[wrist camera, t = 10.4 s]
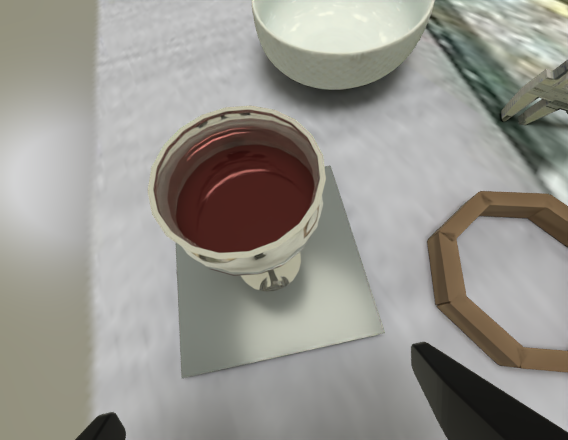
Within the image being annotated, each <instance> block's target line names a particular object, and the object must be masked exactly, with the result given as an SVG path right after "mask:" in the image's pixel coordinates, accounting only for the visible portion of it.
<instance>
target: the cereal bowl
mask: <svg viewBox="0 0 568 440" xmlns="http://www.w3.org/2000/svg"><path fill="white" fill-rule="evenodd" d="M434 1H435V0H252V11H253V16H254V22H255V27H256V31H257V34H258V38H259V40H260V43H261V45H262V47H263V50H264V52H265V53H266V56H267V57H268V58H269V60H270V61H271V62H272V63H273V64H274V66H275V67H277V68H278V69H279V70H280V71H281V72H283V73H284V74H285V75H286V76H288V77H289V78H291V79H292V80H295V81H296V82H299V83H301V84H303V85H307V86H311V87H315V88H320V89H330V90H332V89H334V90H336V89H339V90H341V89H350V88H354V87H359V86H362V85H366V84H369V83H371V82H374V81H376V80H378V79H381V78H382V77H383V76H385V75H387V74H389V73H390V72H391V71H393V70H394V69H396V68H397V67H398V66H399V65H400V64H401V63H402V62H403V61H404V60H405V59H406V58H407V57H408V56H409V55H410V54H411V52H412V50H413V49H414V48H415V47H416V45H417V43H418V41H419V40H420V38H421V35H422V34H423V32H424V30H425V27H426V25H427V23H428V21H429V17H430V15H431V13H432V9H433V6H434Z"/></svg>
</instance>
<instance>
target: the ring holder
mask: <svg viewBox="0 0 568 440" xmlns="http://www.w3.org/2000/svg"><path fill="white" fill-rule="evenodd" d="M478 216H493V217H514V218H528V219H529V220H531V221H532V222H533V223H535V224H536V225H538V226H539V227H540V228H542V229H543V230H544V231H546V232H547V233H549V234H550V235H551V236H553V237H554V238H556V239H557V240H558V241H560V242H561V243H562V244H564V245H565V246H567V247H568V206H567V205H565V204H564V203H562V202H561V201H559V200H558V199H556V198H555V197H553V196H552V195H549V194H540V193H516V192H491V191H480V192H478V193H477V194H476V195H474V196H473V197H472V198H471V199H470V200H468V201H467V202H466V203H465V204H464V205H463V206H462V207H461V208H460V209H459V210H458V211H457V212H456V213H455V214H454V215H452V216H451V217H450V218H449V219H448V220H447V221H446V222H445V223H444V224H443V225H442V226H441V227H440V228H439V229H438V230H437V231H436V232H435V233H434V234H433V235H432V236H431V237H430V238H429V239H428V241H427V243H428V251H429V259H430V266H431V274H432V281H433V289H434V296H435V304H436V305H437V307H438V308H439V309H440V310H441V311H442V312H443V313H444V314H445V315H446V316H447V317H448V318H449V319H450V320H451V321H452V322H453V323H455V324H456V325H457V326H458V327H459V328H460V329H461V330H462V331H463V332H464V333H465V334H466V335H467V336H468V337H469V338H470V339H471V340H472V341H474V342H475V343H476V344H477V345H478V346H479V347H480V348H481V349H482V350H483V351H484V352H485V353H486V354H487V355H488V356H489V357H490V358H491V359H493V360H494V361H495V362H496V363H497V364H498V365H500V366H508V367H516V368H525V369H536V370H547V371H558V372H568V351H562V350H550V349H538V348H526V347H523V346H522V345H521V344H519V343H518V342H517V341H516V340H515V339H514V338H513V337H512V336H510V335H509V334H508V333H507V332H506V331H505V330H504V329H503V328H502V327H500V326H499V325H498V324H497V323H496V322H495V321H494V320H493V319H491V318H490V317H489V316H488V315H487V314H486V313H485V312H484V311H482V310H481V309H480V308H479V307H478V306H477V305H476V304H475V303H474V302H472V301H471V300H470V299H469V298H468V297H467V296H466V291H465V285H464V280H463V274H462V268H461V263H460V257H459V251H458V246H457V240H456V238H457V237H458V236H459V235H460V234H461V233H462V232H463V231H464V230H465V229H466V228H467V227H468V226H469V225H470V224H471V223H472V222H473V221H474V220H475V219H476V218H477V217H478Z"/></svg>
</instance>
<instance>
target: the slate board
mask: <svg viewBox="0 0 568 440" xmlns="http://www.w3.org/2000/svg"><path fill="white" fill-rule="evenodd" d="M325 175H326V181H325V185H324V189H323V193H322V197H323V207H322V211H321V215H320V219H319V223H318V227H317V228H316V230H315V231H314V233H313V235H312V236H311V238H310V239H309V241H308V242H307V244H306V245H305V247H304V248H303V250H302V251H301V252H300V254H301V264H300V268H299V272H298V273H297V275H296V276H295V278H294V279H293V281H292V282H290V283H289V284H288V285H287V286H285V287H284V288H281V289H278V290H276V291H261V290H257V289H254V288H253V287H251V286H250V285H248V284H247V283H246V282H245V281H244V280H243V278H242V277H241V276H240V275H237V276H233V275H229V274H226V273H222V272H218V271H215V270H211V269H209V268H207V267H205V266H204V265H202V264H201V263H199V262H198V261H197V260H195V259H194V258H192V257H191V256H189V255H188V254H187V253H186V252H185V250H184V249H183V247H182V246H180V245H179V244H177V243H176V262H177V284H178V307H179V329H180V352H181V374H182V378H186V377H190V376H195V375H199V374H204V373H208V372H213V371H217V370H222V369H226V368H231V367H235V366H240V365H244V364H249V363H253V362H258V361H262V360H267V359H271V358H276V357H280V356H284V355H289V354H293V353H298V352H302V351H307V350H311V349H316V348H320V347H325V346H329V345H334V344H338V343H343V342H347V341H352V340H356V339H361V338H365V337H370V336H374V335H379V334H383V333H385V332H384V328H383V325H382V322H381V319H380V316H379V313H378V310H377V307H376V304H375V301H374V298H373V295H372V292H371V289H370V285H369V282H368V279H367V276H366V273H365V270H364V267H363V264H362V261H361V258H360V255H359V252H358V249H357V246H356V242H355V239H354V236H353V233H352V230H351V227H350V224H349V221H348V218H347V215H346V212H345V209H344V206H343V203H342V200H341V196H340V193H339V190H338V187H337V184H336V181H335V178H334V175H333V172H332V169H331V166H326V167H325Z"/></svg>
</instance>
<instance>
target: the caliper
mask: <svg viewBox="0 0 568 440" xmlns="http://www.w3.org/2000/svg"><path fill="white" fill-rule="evenodd" d="M539 97H540V98H542V99H541V100H540V101H539V102H537V103H536V104H534V105H533V106H531V107H530V108H529V109H527V110H526V111H525V112H524V113H523V114H521V115H520V116H518V118H519V124H521V125H526V124H528V123H530V122H533V121H535V120H537V119H539V118H542V117H544V116H546V115H548V114H550V113H553V112H555V111H557V110H559V109H562V110H565V111H566V113H567V114H568V60H566V61H565V62H564V63H562V64H561V65H560V66H559V67H557V68H556V69H555V70H549V69H545V70H544V71H543V72H541V73H540V74H539V75H538V76H536V77H535V78H534V79H532V80H531V81H530V82H528V83H527V84H526V85H524V86H523V87H522V88H521V89H520V90H519V91H518V92H517V93H516V95H515V96H514V97H513V98H512V99H511V100H510V101H509V102H508V103H507V105H506V106H505V107H504V108H503V109H502V111H501V114H502V121H504V122H505V121H506V120H508V119H509V118H510V117H512V116H513V115H514V114H516V113H517V112H519V111H520V110H522V109H523V108H525V107H526V106H527V105H529V104H530V103H532V102H533V101H535V100H536V99H537V98H539Z"/></svg>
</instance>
